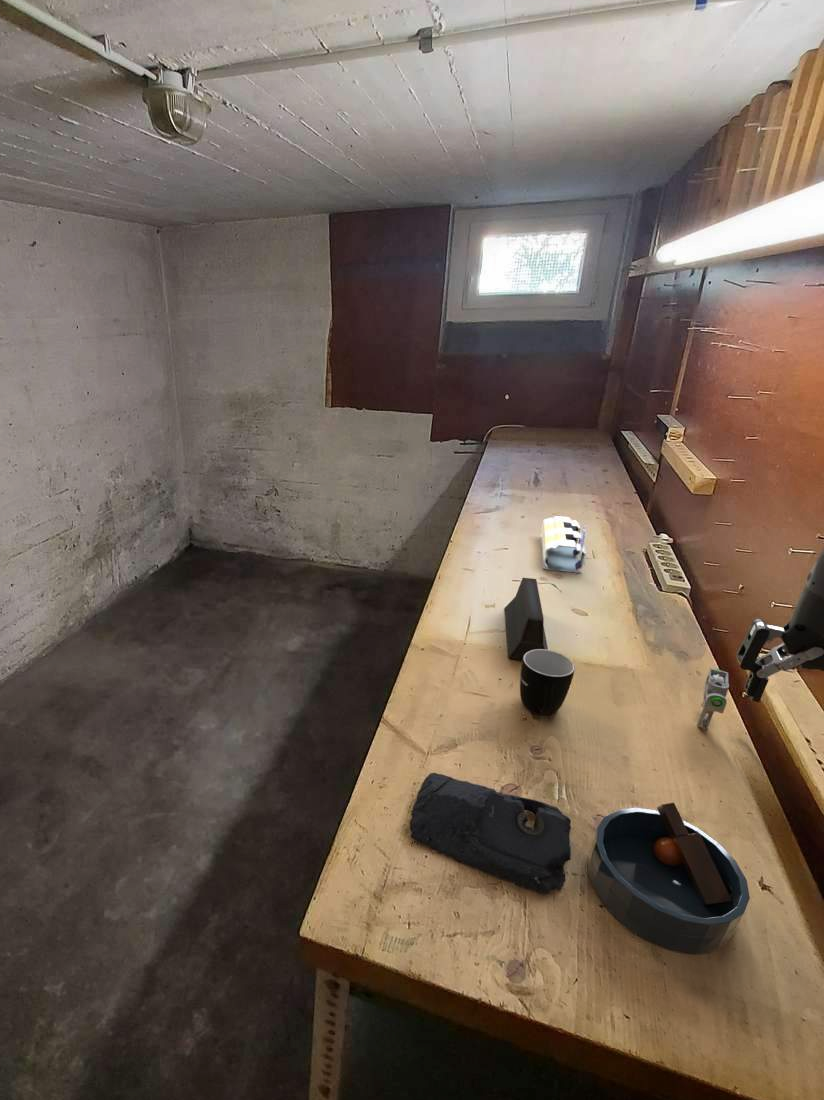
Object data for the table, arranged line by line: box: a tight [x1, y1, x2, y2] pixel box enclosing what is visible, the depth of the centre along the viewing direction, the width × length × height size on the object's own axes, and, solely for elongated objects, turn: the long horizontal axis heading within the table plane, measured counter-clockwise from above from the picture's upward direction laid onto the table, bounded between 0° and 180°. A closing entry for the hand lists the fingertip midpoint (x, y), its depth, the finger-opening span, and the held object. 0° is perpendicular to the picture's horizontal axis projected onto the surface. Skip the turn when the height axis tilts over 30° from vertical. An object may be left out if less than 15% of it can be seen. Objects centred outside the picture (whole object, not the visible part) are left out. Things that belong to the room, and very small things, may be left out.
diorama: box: [540, 515, 587, 574], centre depth 169 cm, size 25×10×13 cm, turn 159°
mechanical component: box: [696, 667, 730, 730], centre depth 101 cm, size 3×10×10 cm, turn 145°
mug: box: [519, 649, 576, 716], centre depth 106 cm, size 12×9×10 cm
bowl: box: [587, 807, 751, 955], centre depth 74 cm, size 17×17×6 cm
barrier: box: [503, 577, 549, 661], centre depth 130 cm, size 24×9×10 cm, turn 162°
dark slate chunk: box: [409, 772, 572, 894], centre depth 84 cm, size 15×22×5 cm
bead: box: [653, 837, 683, 866], centre depth 77 cm, size 4×4×4 cm
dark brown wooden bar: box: [656, 802, 732, 905], centre depth 75 cm, size 12×3×3 cm
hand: (796, 707), depth 68 cm, fingers open, 8 cm apart
